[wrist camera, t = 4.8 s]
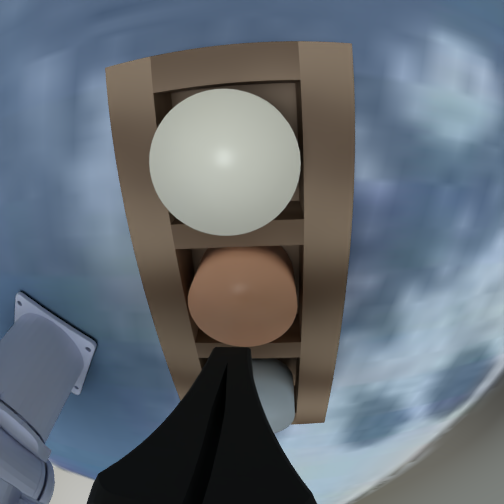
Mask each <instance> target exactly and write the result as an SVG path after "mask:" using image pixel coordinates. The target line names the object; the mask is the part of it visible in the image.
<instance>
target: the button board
mask: <svg viewBox="0 0 504 504" xmlns="http://www.w3.org/2000/svg"><path fill="white" fill-rule="evenodd" d="M105 72H106V84H107V95H108V105H109V114H110V122H111V130H112V137H113V144H114V151H115V157H116V164H117V170H118V176H119V181H120V187H121V192H122V197H123V202H124V207H125V212H126V217H127V222H128V226H129V231H130V235H131V240H132V244H133V248H134V252H135V256H136V260H137V264H138V268H139V272H140V276H141V280H142V284H143V287H144V291H145V294H146V298H147V301H148V305H149V308H150V312H151V315H152V318H153V322H154V325H155V328H156V331H157V335H158V338H159V341H160V344H161V347H162V350H163V353H164V356H165V359H166V362H167V365H168V368H169V370H170V373H171V376H172V379H173V382H174V384H175V387H176V390H177V392H178V395H179V398H180V400H182V399H183V397H184V396H185V395H186V393H187V392H188V391H189V389H190V388H191V386H192V384H193V383H194V381H195V380H196V378H197V377H198V375H199V374H200V372H201V370H202V369H203V367H204V365H205V363H206V362H207V360H208V358H209V356H210V354H211V352H212V350H213V348H215V347H239V346H232V345H228V344H225V343H222V342H219V341H217V340H215V339H213V338H212V337H210V336H208V335H207V334H206V333H204V332H203V331H202V330H201V329H200V328H199V327H198V326H197V324H196V323H195V321H194V320H193V318H192V316H191V314H190V311H189V307H188V294H189V290H190V287H191V284H192V282H193V279H194V277H195V274H196V271H197V269H198V266H199V264H200V261H201V259H202V256H203V254H204V253H205V251H206V250H207V249H208V248H221V247H251V246H281V247H282V248H283V249H284V250H285V252H286V253H287V254H288V256H289V258H290V260H291V262H292V265H293V270H294V278H295V287H296V296H297V313H296V317H295V319H294V321H293V323H292V325H291V326H290V328H289V329H288V330H287V331H286V332H285V333H284V334H283V335H282V336H280V337H279V338H277V339H275V340H273V341H271V342H269V343H266V344H263V345H259V346H253V347H248V348H250V349H251V356H252V358H275V359H278V360H279V361H281V362H283V363H284V364H285V365H286V366H287V367H288V368H289V369H290V370H291V372H292V375H293V385H294V406H295V417H294V420H293V422H292V423H291V424H309V423H324V421H325V417H326V412H327V407H328V402H329V397H330V392H331V386H332V381H333V375H334V369H335V364H336V358H337V351H338V345H339V338H340V331H341V324H342V317H343V309H344V301H345V293H346V284H347V274H348V264H349V253H350V241H351V228H352V212H353V193H354V163H355V102H354V74H353V56H352V44H350V43H335V42H306V41H286V42H257V43H242V44H231V45H221V46H212V47H204V48H197V49H190V50H184V51H178V52H172V53H166V54H161V55H156V56H151V57H147V58H142V59H138V60H133V61H129V62H125V63H121V64H118V65H114V66H110V67H107V68H105ZM213 89H234V90H240V91H244V92H248V93H251V94H254V95H256V96H259V97H261V98H263V99H264V100H266V101H268V102H269V103H270V104H272V105H273V106H274V107H275V108H276V109H277V110H278V111H279V112H280V113H281V114H282V115H283V117H284V118H285V119H286V121H287V122H288V123H289V125H290V127H291V128H292V130H293V132H294V134H295V137H296V140H297V142H298V147H299V151H300V160H301V165H300V175H299V181H298V184H297V187H296V190H295V192H294V194H293V196H292V198H291V200H290V201H289V203H288V204H287V206H286V207H285V208H284V210H283V211H282V212H281V213H280V214H279V215H278V216H277V217H276V218H274V219H273V220H272V221H271V222H269V223H268V224H266V225H265V226H263V227H261V228H259V229H257V230H254V231H251V232H248V233H244V234H240V235H231V236H220V235H213V234H208V233H204V232H201V231H198V230H196V229H193V228H191V227H189V226H188V225H186V224H184V223H183V222H181V221H180V220H178V219H177V218H176V217H175V216H174V215H173V214H172V213H170V211H169V210H168V209H167V208H166V207H165V206H164V204H163V203H162V201H161V200H160V198H159V196H158V195H157V193H156V191H155V188H154V185H153V182H152V179H151V174H150V166H149V156H150V148H151V143H152V140H153V137H154V134H155V132H156V130H157V128H158V126H159V125H160V123H161V121H162V120H163V118H164V117H165V116H166V115H167V114H168V113H169V111H170V110H172V109H173V108H174V107H175V106H176V105H177V104H179V103H180V102H182V101H183V100H185V99H186V98H188V97H190V96H192V95H195V94H197V93H200V92H204V91H208V90H213Z"/></svg>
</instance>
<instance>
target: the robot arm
mask: <svg viewBox="0 0 504 504" xmlns="http://www.w3.org/2000/svg"><path fill="white" fill-rule="evenodd" d="M96 346H97V345H96V342H95V341H94V340H92V339H91V338H89V337H87V336H86V335H84V334H83V333H81V332H79V331H78V330H76V329H75V328H73V327H71V326H70V325H68V324H67V323H65V322H64V321H62V320H61V319H59V318H58V317H56V316H55V315H53V314H52V313H50V312H49V311H47V310H46V309H44V308H43V307H42V306H40V305H39V304H37V303H36V302H35V301H33V300H32V299H30V298H29V297H28V296H26V295H25V294H24V293H22V292H18V293H17V294H16V300H15V322H14V325H13V326H12V327H11V328H10V329H9V331H8V332H7V333H6V334H5V336H4V337H3V338H2V339H1V341H0V504H49V502H50V500H51V497H52V495H53V491H54V484H55V481H54V471H53V466H52V464H51V462H50V461H49V460H48V458H49V455H50V453H51V450H50V449H49V448H48V447H47V446H46V445H45V443H46V441H47V439H48V437H49V434H50V432H51V430H52V428H53V426H54V424H55V422H56V420H57V418H58V416H59V414H60V412H61V410H62V408H63V406H64V404H65V402H66V400H67V398H68V396H69V394H70V392H72V393H74V394H76V395H79V394H80V392H81V390H82V387H83V384H84V381H85V378H86V375H87V372H88V369H89V366H90V363H91V360H92V357H93V355H94V352H95V349H96ZM87 504H317V502H316V501H315V499H314V496H313V494H312V492H311V491H310V490H309V489H308V487H307V486H306V485H305V483H304V482H303V481H302V479H301V478H300V476H299V475H298V474H297V472H296V471H295V469H294V468H293V466H292V465H291V463H290V461H289V460H288V458H287V456H286V455H285V453H284V451H283V449H282V448H281V446H280V444H279V442H278V440H277V439H276V437H275V435H274V433H273V431H272V428H271V426H270V424H269V422H268V420H267V417H266V415H265V412H264V410H263V407H262V404H261V402H260V399H259V396H258V392H257V389H256V385H255V382H254V377H253V366H252V356H251V349H250V348H248V347H215V348H213V350H212V352H211V354H210V356H209V358H208V360H207V362H206V363H205V365H204V367H203V369H202V370H201V372H200V374H199V375H198V377H197V378H196V380H195V381H194V383H193V384H192V386H191V388H190V389H189V391H188V392H187V393H186V395H185V396H184V397H183V399H182V400H181V401H180V403H179V404H178V405H177V407H176V408H175V409H174V410H173V412H172V413H171V414H170V415H169V416H168V417H167V418H166V420H165V421H164V422H163V423H162V424H161V425H160V426H159V427H158V428H157V429H156V430H155V431H154V432H153V433H152V434H151V435H150V436H149V437H148V438H147V439H146V440H144V441H143V442H142V443H141V444H140V445H139V446H137V447H136V448H135V449H134V450H132V451H131V452H130V453H129V454H127V455H126V456H125V457H123V458H122V459H120V460H119V461H118V462H116V463H114V464H113V465H111V466H110V467H108V468H107V469H105V470H103V471H102V472H100V473H99V474H98V475H97V478H96V480H95V481H94V483H93V486H92V489H91V492H90V495H89V498H88V501H87Z"/></svg>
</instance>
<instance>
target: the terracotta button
mask: <svg viewBox="0 0 504 504" xmlns="http://www.w3.org/2000/svg"><path fill="white" fill-rule="evenodd" d="M188 307H189V311H190V314H191V316H192V318H193V320H194V321H195V323H196V324H197V326H198V327H199V328H200V329H201V330H202V331H203V332H204V333H206V334H207V335H208V336H210V337H212V338H213V339H215V340H217V341H219V342H222V343H225V344H228V345H232V346H239V347H253V346H259V345H263V344H266V343H269V342H271V341H273V340H275V339H277V338H279V337H280V336H282V335H283V334H284V333H285V332H286V331H287V330H288V329H289V328H290V326H291V325H292V323H293V321H294V319H295V317H296V313H297V296H296V287H295V278H294V270H293V265H292V262H291V260H290V258H289V256H288V254H287V253H286V252H285V250H284V249H283V248H282V247H281V246H251V247H221V248H208V249H207V250H206V251H205V253H204V254H203V256H202V259H201V261H200V264H199V266H198V269H197V271H196V274H195V277H194V279H193V282H192V284H191V287H190V290H189V294H188Z"/></svg>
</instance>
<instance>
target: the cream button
mask: <svg viewBox="0 0 504 504" xmlns="http://www.w3.org/2000/svg"><path fill="white" fill-rule="evenodd" d="M300 165H301V160H300V151H299V147H298V142H297V140H296V137H295V134H294V132H293V130H292V128H291V127H290V125H289V123H288V122H287V121H286V119H285V118H284V117H283V115H282V114H281V113H280V112H279V111H278V110H277V109H276V108H275V107H274V106H273V105H272V104H270V103H269V102H268V101H266V100H264V99H263V98H261V97H259V96H256V95H254V94H251V93H248V92H244V91H240V90H234V89H213V90H208V91H204V92H200V93H197V94H195V95H192V96H190V97H188V98H186V99H185V100H183V101H182V102H180V103H179V104H177V105H176V106H175V107H174V108H173V109H172V110H170V111H169V113H168V114H167V115H166V116H165V117H164V118H163V120H162V121H161V123H160V125H159V126H158V128H157V130H156V132H155V134H154V137H153V140H152V143H151V148H150V156H149V166H150V174H151V179H152V182H153V185H154V188H155V191H156V193H157V195H158V196H159V198H160V200H161V201H162V203H163V204H164V206H165V207H166V208H167V209H168V210H169V211H170V213H172V214H173V215H174V216H175V217H176V218H177V219H178V220H180V221H181V222H183V223H184V224H186V225H188V226H189V227H191V228H193V229H196V230H198V231H201V232H204V233H208V234H213V235H220V236H231V235H240V234H244V233H248V232H251V231H254V230H257V229H259V228H261V227H263V226H265V225H266V224H268V223H269V222H271V221H272V220H273V219H274V218H276V217H277V216H278V215H279V214H280V213H281V212H282V211H283V210H284V208H285V207H286V206H287V204H288V203H289V201H290V200H291V198H292V196H293V194H294V192H295V190H296V187H297V184H298V181H299V175H300Z"/></svg>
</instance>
